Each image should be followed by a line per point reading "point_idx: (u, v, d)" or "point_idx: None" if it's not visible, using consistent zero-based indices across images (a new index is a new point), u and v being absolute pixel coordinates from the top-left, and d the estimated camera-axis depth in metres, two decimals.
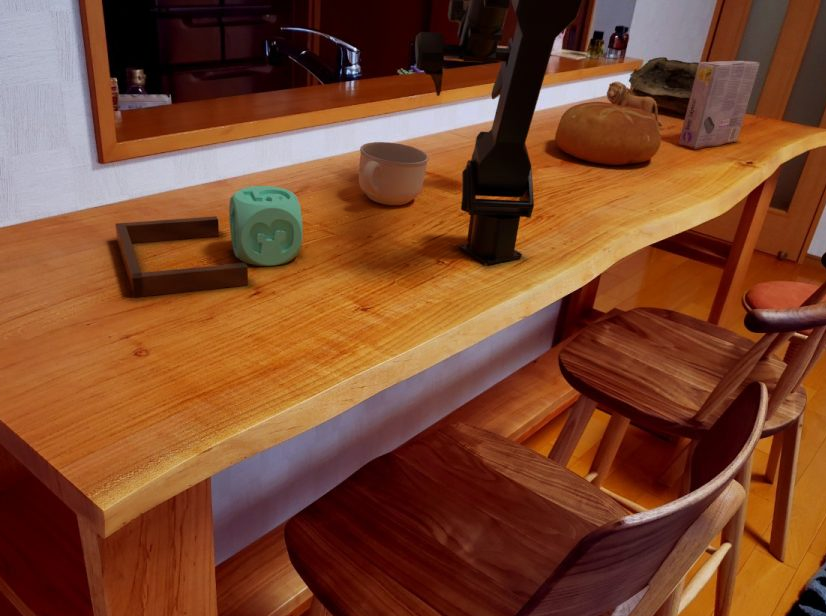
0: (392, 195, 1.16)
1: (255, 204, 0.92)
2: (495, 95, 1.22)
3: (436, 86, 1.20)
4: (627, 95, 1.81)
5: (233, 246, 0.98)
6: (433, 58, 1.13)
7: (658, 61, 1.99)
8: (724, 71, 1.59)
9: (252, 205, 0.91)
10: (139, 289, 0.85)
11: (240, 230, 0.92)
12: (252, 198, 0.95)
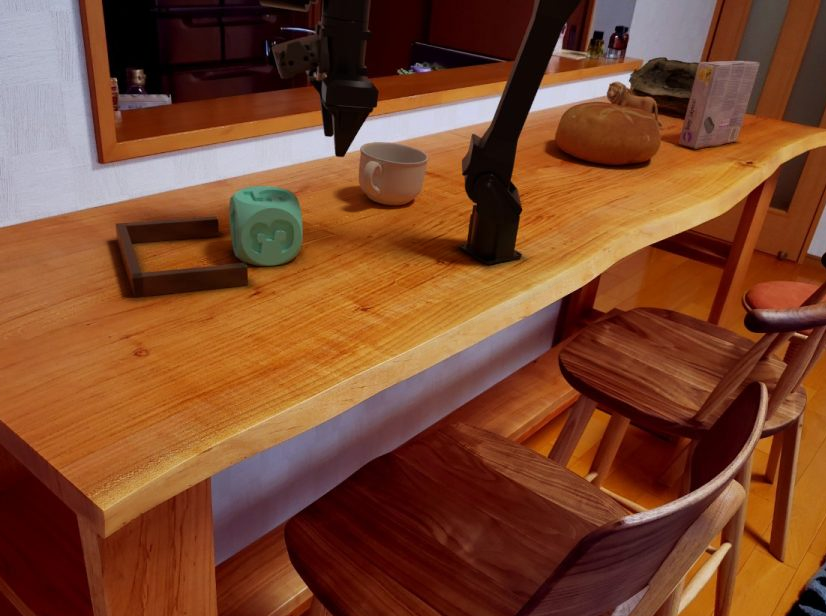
0: (392, 195, 1.16)
1: (255, 204, 0.92)
2: None
3: (355, 134, 0.93)
4: (627, 95, 1.81)
5: (233, 246, 0.98)
6: None
7: (658, 61, 1.99)
8: (724, 71, 1.59)
9: (252, 205, 0.91)
10: (139, 289, 0.85)
11: (240, 230, 0.92)
12: (252, 198, 0.95)
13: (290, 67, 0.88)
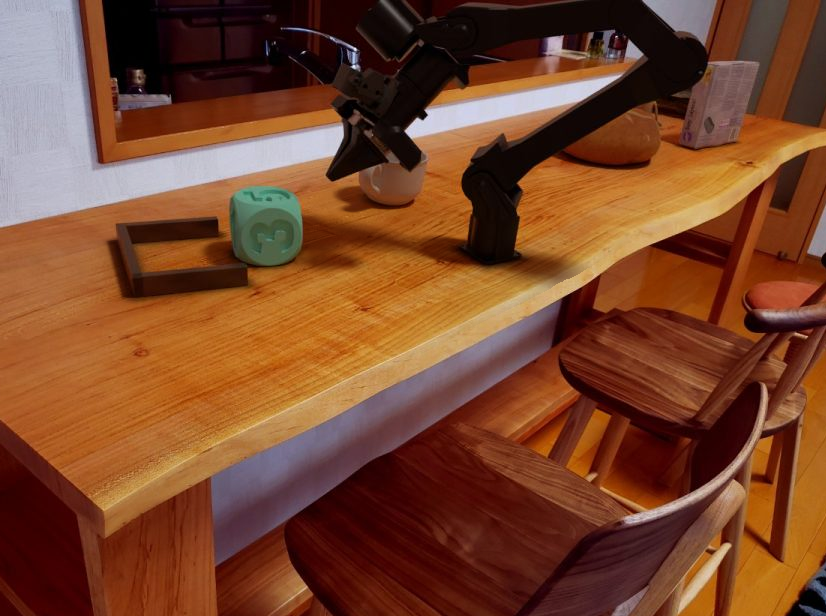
0: (392, 195, 1.16)
1: (255, 204, 0.92)
2: None
3: None
4: None
5: (233, 246, 0.98)
6: None
7: None
8: (724, 71, 1.59)
9: (252, 205, 0.91)
10: (139, 289, 0.85)
11: (240, 230, 0.92)
12: (252, 198, 0.95)
13: (362, 89, 0.88)
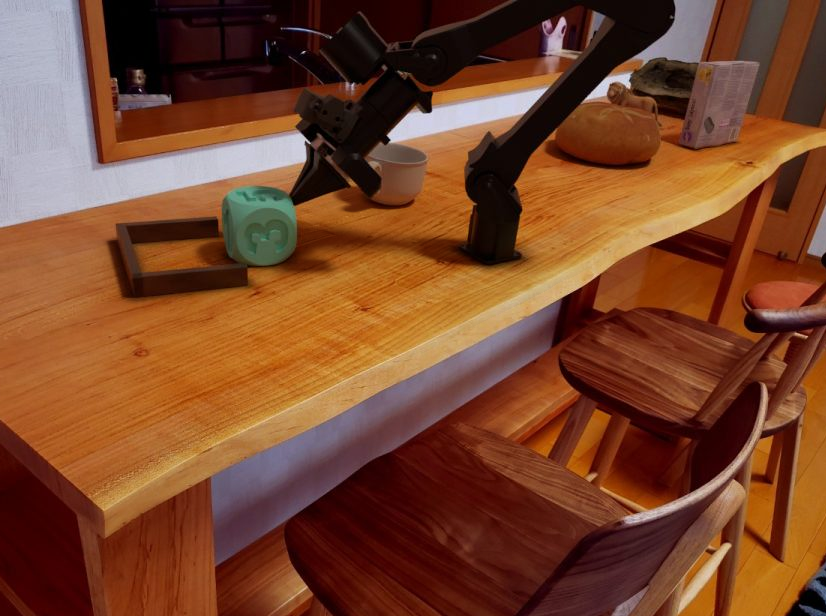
0: (392, 195, 1.16)
1: (249, 204, 0.91)
2: None
3: None
4: (627, 95, 1.81)
5: (226, 247, 0.97)
6: None
7: (658, 61, 1.99)
8: (724, 71, 1.59)
9: (247, 206, 0.91)
10: (139, 289, 0.85)
11: (235, 231, 0.92)
12: (245, 198, 0.95)
13: (321, 115, 0.88)
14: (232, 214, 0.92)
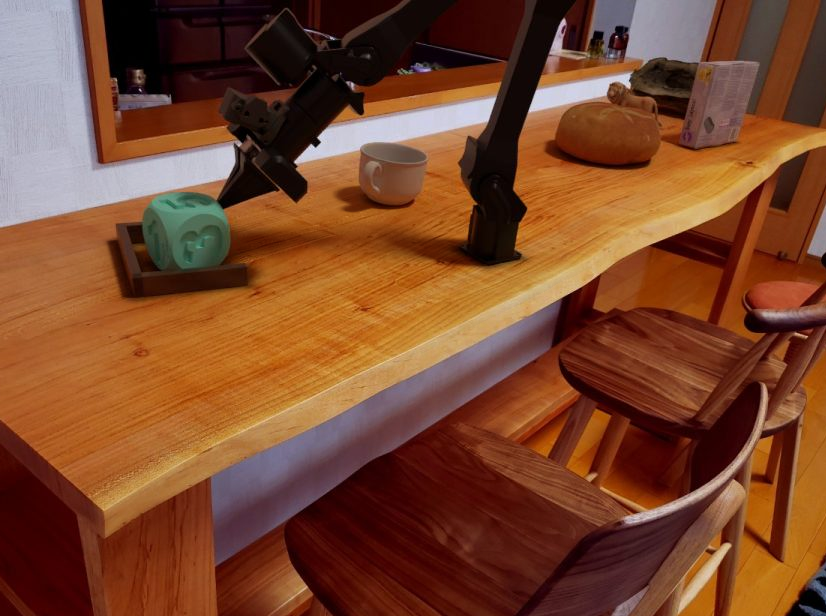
0: (392, 195, 1.16)
1: (182, 212, 0.87)
2: None
3: (246, 199, 0.93)
4: (627, 95, 1.81)
5: (154, 259, 0.93)
6: None
7: (658, 62, 1.99)
8: (724, 71, 1.59)
9: (179, 214, 0.87)
10: (139, 289, 0.85)
11: (170, 241, 0.87)
12: (171, 206, 0.90)
13: (243, 116, 0.85)
14: (164, 224, 0.87)
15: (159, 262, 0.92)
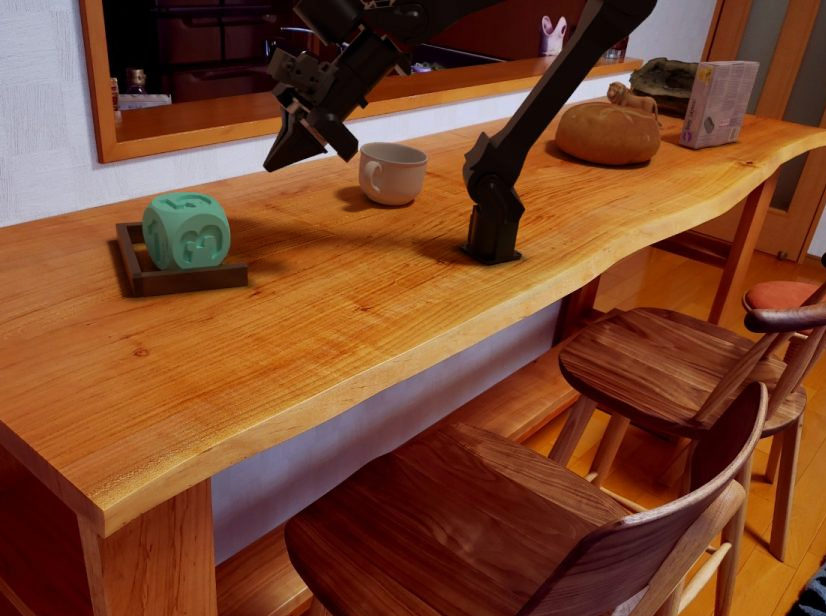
0: (392, 195, 1.16)
1: (182, 212, 0.87)
2: None
3: (294, 162, 0.93)
4: (627, 95, 1.81)
5: (154, 259, 0.93)
6: None
7: (658, 61, 1.99)
8: (724, 71, 1.59)
9: (179, 214, 0.87)
10: (139, 289, 0.85)
11: (170, 241, 0.87)
12: (171, 206, 0.90)
13: (295, 75, 0.84)
14: (164, 224, 0.87)
15: (159, 262, 0.92)
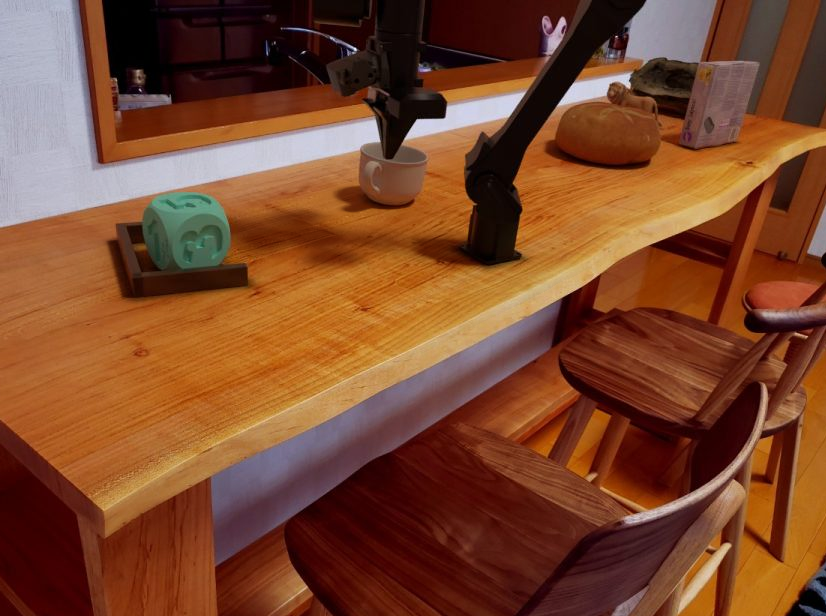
0: (392, 195, 1.16)
1: (182, 212, 0.87)
2: None
3: (404, 137, 0.97)
4: (627, 95, 1.81)
5: (154, 259, 0.93)
6: None
7: (658, 62, 1.99)
8: (724, 71, 1.59)
9: (179, 214, 0.87)
10: (139, 289, 0.85)
11: (170, 241, 0.87)
12: (171, 206, 0.90)
13: (356, 85, 0.88)
14: (164, 224, 0.87)
15: (159, 262, 0.92)
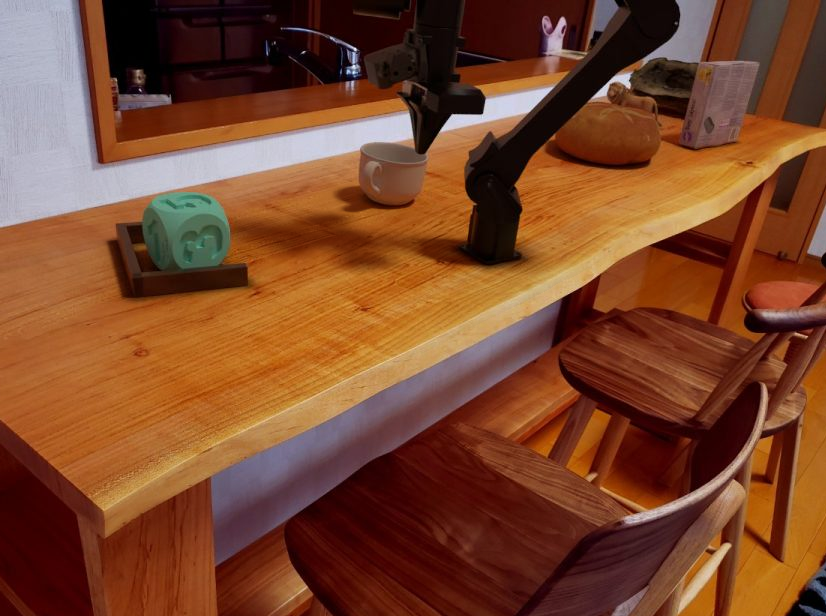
0: (392, 195, 1.16)
1: (182, 212, 0.87)
2: None
3: None
4: (627, 95, 1.81)
5: (154, 259, 0.93)
6: None
7: (658, 61, 1.99)
8: (724, 71, 1.59)
9: (179, 214, 0.87)
10: (139, 289, 0.85)
11: (170, 241, 0.87)
12: (171, 206, 0.90)
13: (395, 78, 0.87)
14: (164, 224, 0.87)
15: (159, 262, 0.92)
